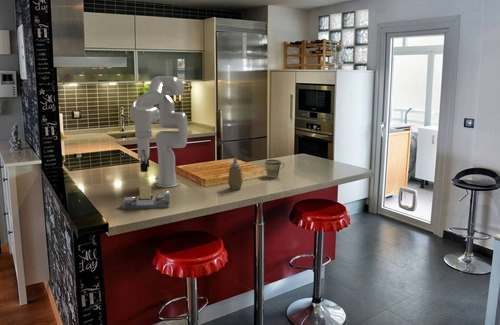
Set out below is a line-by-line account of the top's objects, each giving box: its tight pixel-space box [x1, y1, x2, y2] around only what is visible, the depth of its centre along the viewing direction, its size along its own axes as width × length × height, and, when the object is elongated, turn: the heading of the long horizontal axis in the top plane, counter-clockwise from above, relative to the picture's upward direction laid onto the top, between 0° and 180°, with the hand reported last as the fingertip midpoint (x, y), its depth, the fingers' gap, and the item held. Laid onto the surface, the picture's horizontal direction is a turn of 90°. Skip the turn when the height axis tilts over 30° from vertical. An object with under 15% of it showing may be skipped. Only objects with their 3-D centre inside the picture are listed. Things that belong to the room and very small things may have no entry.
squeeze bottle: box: [227, 157, 243, 191], centre depth 245 cm, size 8×8×18 cm
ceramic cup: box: [264, 158, 285, 179], centre depth 274 cm, size 13×10×10 cm
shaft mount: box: [121, 190, 171, 211], centre depth 213 cm, size 23×9×7 cm, turn 99°
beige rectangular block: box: [139, 185, 152, 200], centre depth 213 cm, size 5×5×8 cm
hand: (145, 169), depth 211 cm, fingers open, 9 cm apart
